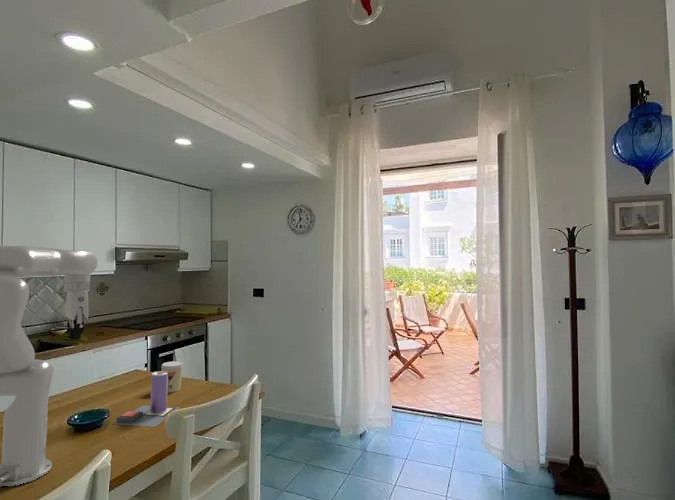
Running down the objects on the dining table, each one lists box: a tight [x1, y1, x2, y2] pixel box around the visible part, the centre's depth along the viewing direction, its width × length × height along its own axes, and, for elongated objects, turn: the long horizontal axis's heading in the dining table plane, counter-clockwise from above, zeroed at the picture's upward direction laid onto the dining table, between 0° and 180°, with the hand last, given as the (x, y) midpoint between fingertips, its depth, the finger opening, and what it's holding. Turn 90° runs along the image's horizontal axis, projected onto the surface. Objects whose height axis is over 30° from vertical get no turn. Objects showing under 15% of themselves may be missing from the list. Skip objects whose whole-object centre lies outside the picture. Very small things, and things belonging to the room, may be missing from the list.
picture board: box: [113, 405, 181, 428], centre depth 144 cm, size 18×16×3 cm
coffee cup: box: [160, 360, 184, 393], centre depth 176 cm, size 9×9×12 cm
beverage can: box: [149, 370, 169, 414], centre depth 148 cm, size 6×6×15 cm
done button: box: [120, 410, 139, 418], centre depth 140 cm, size 4×4×2 cm
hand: (74, 338), depth 133 cm, fingers closed
